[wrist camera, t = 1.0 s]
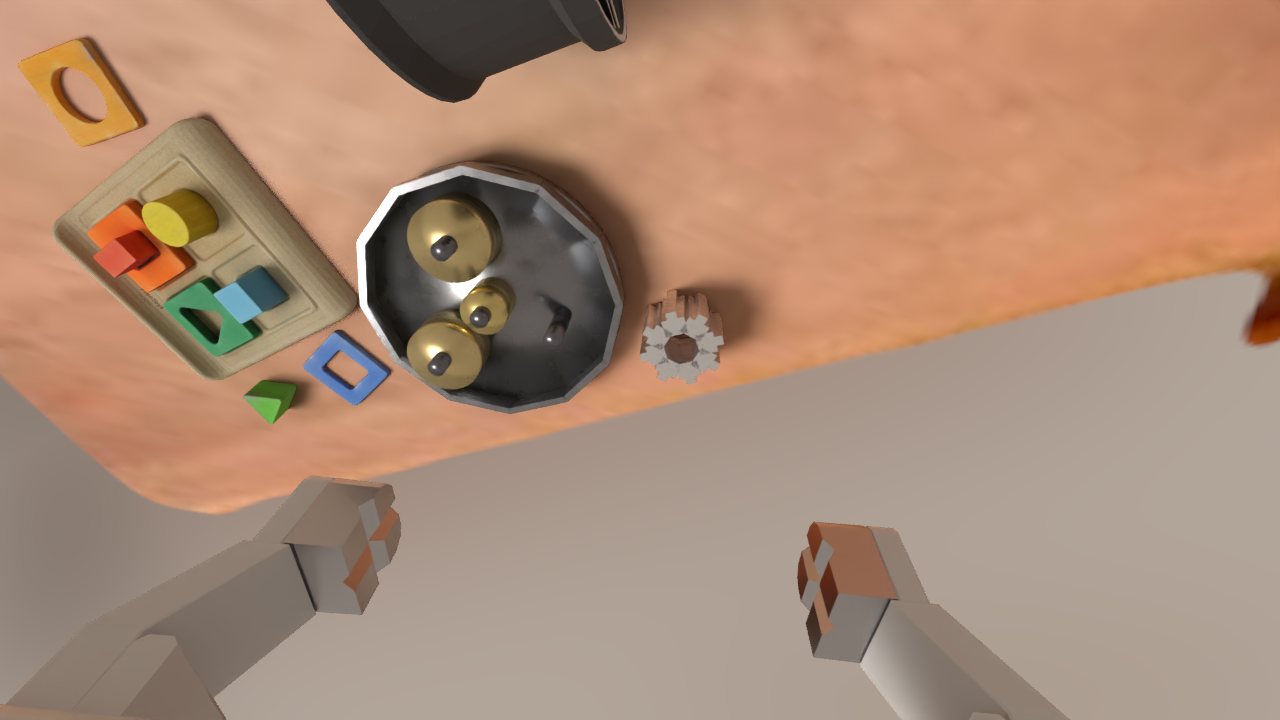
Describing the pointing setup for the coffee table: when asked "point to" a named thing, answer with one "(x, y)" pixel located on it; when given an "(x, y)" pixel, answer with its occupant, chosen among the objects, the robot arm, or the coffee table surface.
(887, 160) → the coffee table surface
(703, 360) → the planet gear
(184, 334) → the shape sorter
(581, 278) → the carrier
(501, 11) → the wheel rim
